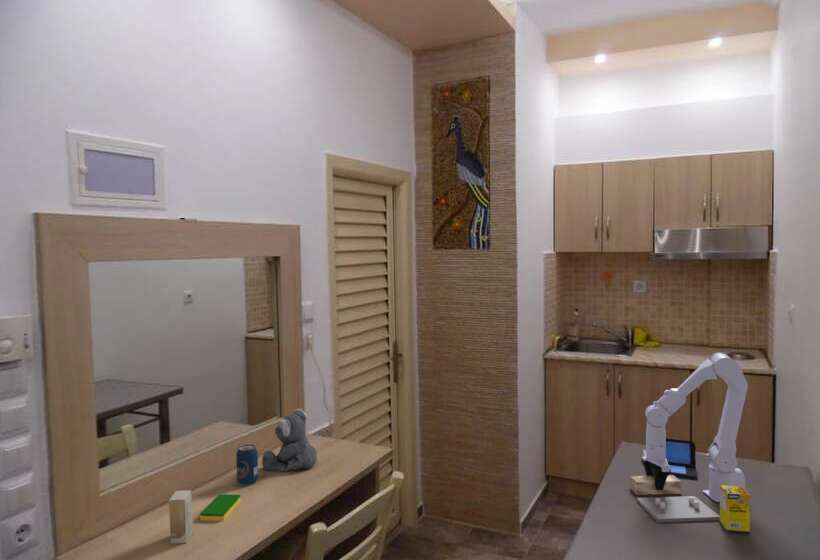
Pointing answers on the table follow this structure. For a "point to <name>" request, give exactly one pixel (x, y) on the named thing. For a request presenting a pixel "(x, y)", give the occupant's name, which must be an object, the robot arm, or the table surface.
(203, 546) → the table surface
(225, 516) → the dish sponge
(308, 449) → the koala plush
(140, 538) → the table surface
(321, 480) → the table surface
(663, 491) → the shelf board
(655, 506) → the peg stand
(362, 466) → the table surface
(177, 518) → the skincare box
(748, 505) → the supplement box
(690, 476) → the handheld game console
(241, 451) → the soda can
